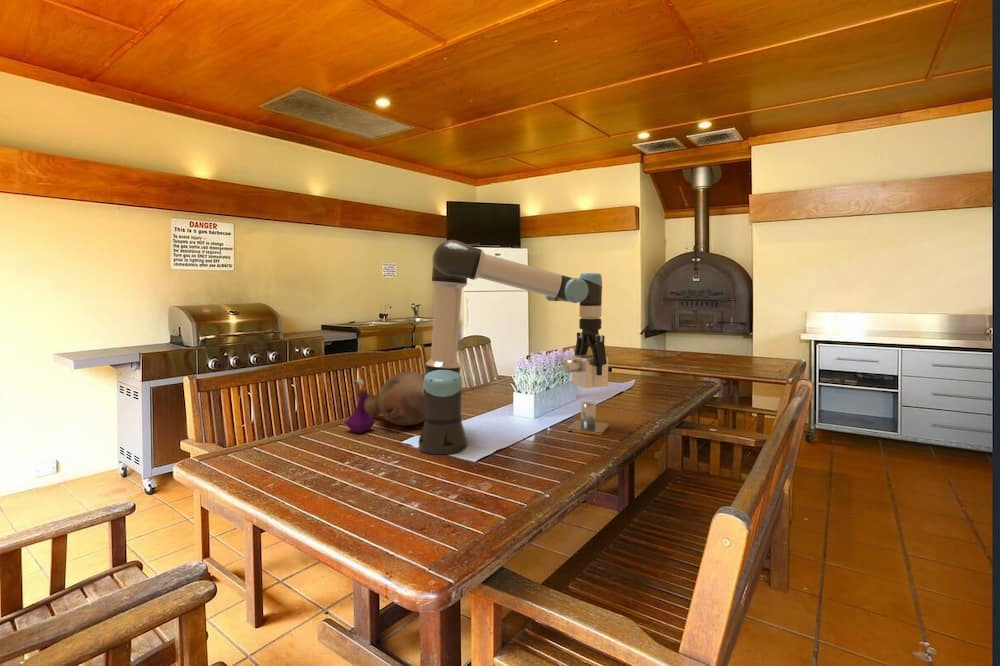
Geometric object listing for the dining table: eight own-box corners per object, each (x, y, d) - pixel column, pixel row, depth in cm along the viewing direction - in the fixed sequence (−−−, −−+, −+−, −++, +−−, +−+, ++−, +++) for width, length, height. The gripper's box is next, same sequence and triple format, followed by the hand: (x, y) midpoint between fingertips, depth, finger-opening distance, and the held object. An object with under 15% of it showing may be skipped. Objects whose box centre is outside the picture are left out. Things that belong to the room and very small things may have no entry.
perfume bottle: (376, 430, 179) (375, 379, 177) (359, 435, 173) (358, 382, 171) (361, 426, 183) (360, 377, 181) (344, 431, 177) (343, 380, 175)
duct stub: (566, 431, 178) (567, 405, 177) (576, 423, 189) (576, 398, 188) (600, 435, 173) (601, 409, 172) (608, 427, 184) (609, 401, 183)
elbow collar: (593, 381, 186) (593, 354, 185) (607, 385, 177) (608, 357, 176) (559, 384, 180) (559, 356, 179) (573, 389, 172) (573, 359, 171)
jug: (445, 425, 185) (390, 425, 204) (445, 371, 189) (392, 376, 207) (402, 426, 170) (347, 426, 188) (403, 366, 173) (349, 372, 191)
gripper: (618, 319, 169) (617, 386, 171) (582, 315, 189) (581, 376, 191) (599, 320, 166) (598, 388, 168) (564, 316, 186) (564, 377, 188)
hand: (589, 382), depth 180 cm, fingers closed on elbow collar, 9 cm apart
